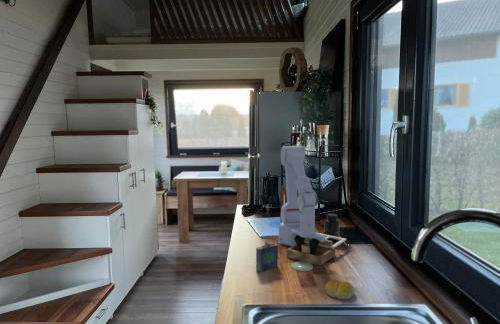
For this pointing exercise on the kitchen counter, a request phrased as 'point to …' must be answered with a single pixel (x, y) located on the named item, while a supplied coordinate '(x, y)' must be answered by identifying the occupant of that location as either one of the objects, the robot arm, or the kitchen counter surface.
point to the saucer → (302, 266)
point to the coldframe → (319, 258)
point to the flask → (266, 257)
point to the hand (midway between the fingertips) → (306, 255)
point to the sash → (327, 241)
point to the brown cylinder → (306, 248)
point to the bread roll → (339, 289)
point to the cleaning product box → (284, 198)
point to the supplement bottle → (332, 227)
